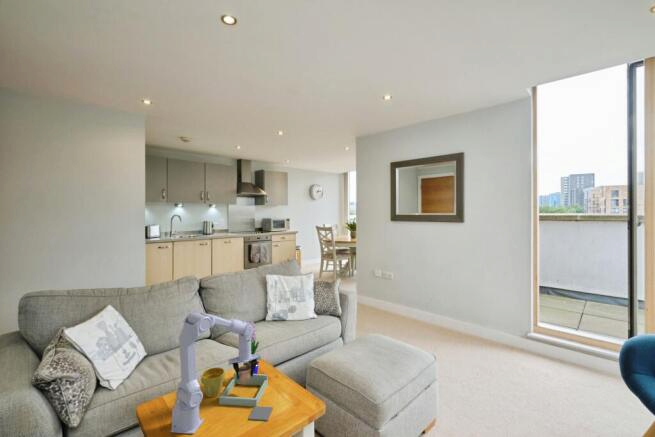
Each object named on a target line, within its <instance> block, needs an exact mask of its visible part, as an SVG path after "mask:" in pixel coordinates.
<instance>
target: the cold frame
mask: <svg viewBox="0 0 655 437" xmlns="http://www.w3.org/2000/svg"><path fill="white" fill-rule="evenodd" d="M268 381H269V376H268V374H265V373H264V374H262V373H261V374H260V373H258V374H253V376H252V377H251V374H250V382H249V383H247V384H245V386H247V385H248V386H260V388H259V390H258V392H257V394H256V396H255V397H240V396H239V397H238V396H229V394H230V393H231V392H232V390H233V389H234V388H235V387H236V385H241V384H240V382H239V379H238V380H237V374H236V372H234V373H233V379H232V380H231V381H230V382H229V384H228V385H227V387H226V388H225V389H224V391H222V394H221V395H220V396H219V398H218V399H219V400H218V403H219V405H227V406H228V405H229V406H243V407H255V406H259V405H258V404H259V402H260V400H261V399H262V396H264V393H265V391H266V389H267V387H268V383H269V382H268Z"/></svg>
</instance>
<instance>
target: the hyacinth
mask: <svg viewBox="0 0 655 437" xmlns="http://www.w3.org/2000/svg"><path fill="white" fill-rule="evenodd" d="M246 323H249V324H252V326H253V328H254V332H253V334H252V338H251V354H256V351H257V349H258V347H259V343H260V341H257V342H256V339H257V333H256V332H257V327H256V324H255V323H254V321H252V320H248V321H247V322H246ZM245 365H248V366H251V361H248V362H247V363H244V362H242V366H245ZM259 365H260V361H259V360H257V365H256V367H255V369H254V372H253V374H259V373H258V372H259V367H260V366H259ZM250 372H251V371H250ZM250 374H251V373H250Z"/></svg>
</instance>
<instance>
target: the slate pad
mask: <svg viewBox="0 0 655 437" xmlns="http://www.w3.org/2000/svg"><path fill="white" fill-rule="evenodd" d="M273 408H274V407H273V406H261V405H257V406H253V409H252V411H251V413H250V415H249V417H248V420H249V421H261V422H262V421H263V422H265V421H266V422H268V421H269V418H270V416H271V413H272V411H273V410H274V409H273Z"/></svg>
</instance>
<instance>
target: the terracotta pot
mask: <svg viewBox="0 0 655 437" xmlns="http://www.w3.org/2000/svg"><path fill="white" fill-rule="evenodd" d="M250 371H251V366H248V365H245V366H243V365H242V366H239V382H240V384H239V385H246V384H247V383H249V382H250Z"/></svg>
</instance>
